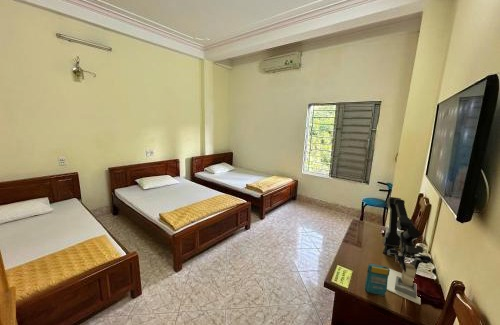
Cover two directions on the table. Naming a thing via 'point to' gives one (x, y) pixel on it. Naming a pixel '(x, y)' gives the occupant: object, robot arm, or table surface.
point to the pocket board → (402, 287)
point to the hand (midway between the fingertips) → (409, 272)
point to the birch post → (408, 274)
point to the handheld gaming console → (377, 279)
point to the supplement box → (397, 230)
